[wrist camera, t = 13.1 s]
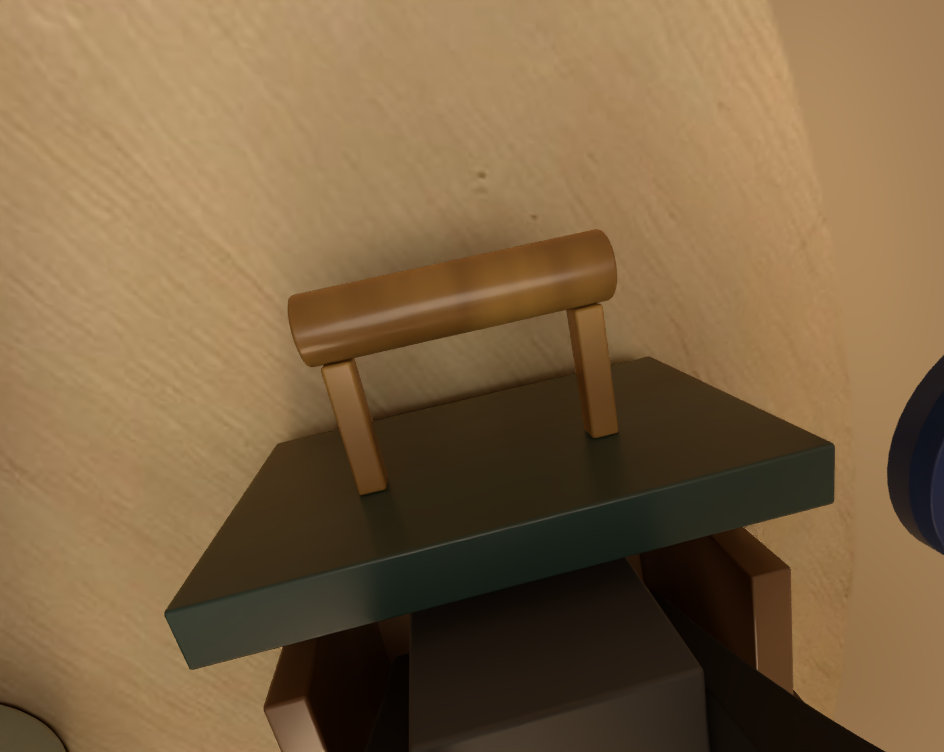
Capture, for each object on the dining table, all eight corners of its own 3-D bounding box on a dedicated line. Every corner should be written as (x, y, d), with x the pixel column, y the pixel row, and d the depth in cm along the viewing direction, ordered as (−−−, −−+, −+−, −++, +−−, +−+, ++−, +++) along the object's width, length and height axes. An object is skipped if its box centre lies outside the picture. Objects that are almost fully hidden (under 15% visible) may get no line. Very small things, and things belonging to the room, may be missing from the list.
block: (595, 509, 11) (706, 669, 7) (617, 658, 12) (723, 869, 8) (409, 556, 11) (407, 751, 7) (450, 703, 12) (470, 945, 8)
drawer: (227, 301, 13) (41, 359, 6) (635, 213, 14) (838, 185, 7) (391, 772, 18) (379, 1075, 11) (684, 691, 19) (831, 932, 12)
